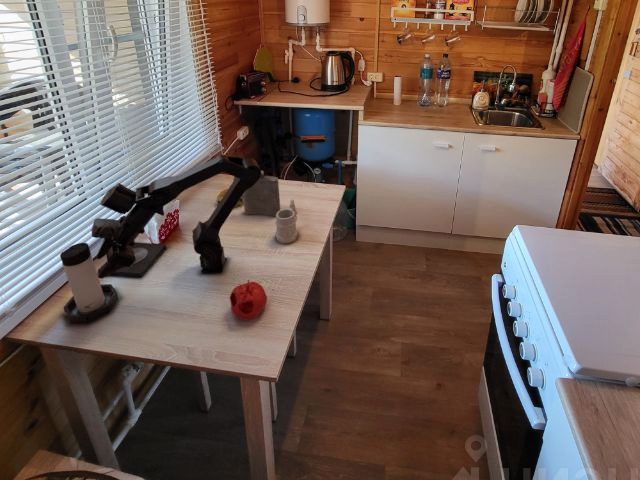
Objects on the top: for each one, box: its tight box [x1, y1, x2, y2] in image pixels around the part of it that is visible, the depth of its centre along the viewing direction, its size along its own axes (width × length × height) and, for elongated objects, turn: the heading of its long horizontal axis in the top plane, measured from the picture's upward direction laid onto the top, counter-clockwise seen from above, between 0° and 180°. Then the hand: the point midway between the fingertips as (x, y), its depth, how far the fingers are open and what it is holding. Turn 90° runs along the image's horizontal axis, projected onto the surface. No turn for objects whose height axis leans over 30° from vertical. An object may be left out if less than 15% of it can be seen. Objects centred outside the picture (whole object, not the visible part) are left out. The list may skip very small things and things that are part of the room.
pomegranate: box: [229, 279, 268, 320], centre depth 104 cm, size 10×10×9 cm
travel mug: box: [59, 242, 106, 315], centre depth 103 cm, size 6×7×20 cm
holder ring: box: [63, 283, 120, 325], centre depth 106 cm, size 12×12×2 cm
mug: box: [274, 199, 299, 244], centre depth 136 cm, size 8×12×12 cm, turn 165°
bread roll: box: [215, 187, 244, 208], centre depth 156 cm, size 10×10×8 cm
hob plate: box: [97, 241, 167, 278], centre depth 124 cm, size 14×14×2 cm
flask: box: [243, 170, 281, 217], centre depth 147 cm, size 4×14×18 cm, turn 86°
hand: (98, 267), depth 104 cm, fingers open, 9 cm apart
